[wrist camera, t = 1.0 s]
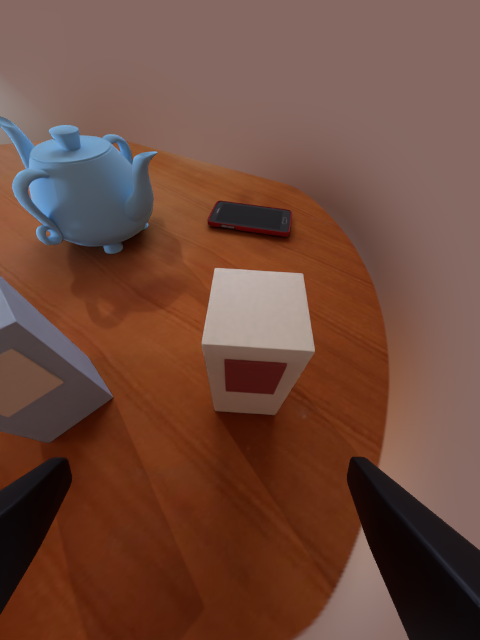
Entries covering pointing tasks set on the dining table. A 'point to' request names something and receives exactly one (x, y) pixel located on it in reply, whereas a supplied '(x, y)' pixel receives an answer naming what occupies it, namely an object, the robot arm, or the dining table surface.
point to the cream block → (255, 339)
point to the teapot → (83, 187)
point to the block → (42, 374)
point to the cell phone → (251, 218)
